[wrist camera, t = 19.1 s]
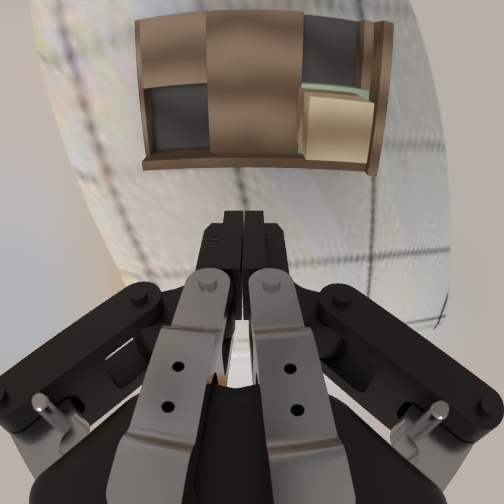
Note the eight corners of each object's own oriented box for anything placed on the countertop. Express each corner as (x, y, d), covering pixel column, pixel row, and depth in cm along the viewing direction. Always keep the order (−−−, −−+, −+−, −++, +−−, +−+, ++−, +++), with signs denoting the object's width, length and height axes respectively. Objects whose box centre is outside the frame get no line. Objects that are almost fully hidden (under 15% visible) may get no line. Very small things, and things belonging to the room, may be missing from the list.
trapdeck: (142, 22, 24) (125, 19, 20) (374, 25, 24) (393, 23, 20) (153, 157, 34) (140, 174, 30) (362, 158, 34) (376, 175, 30)
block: (298, 87, 27) (309, 96, 22) (353, 92, 27) (374, 103, 22) (296, 139, 30) (305, 159, 26) (348, 142, 30) (366, 163, 26)
